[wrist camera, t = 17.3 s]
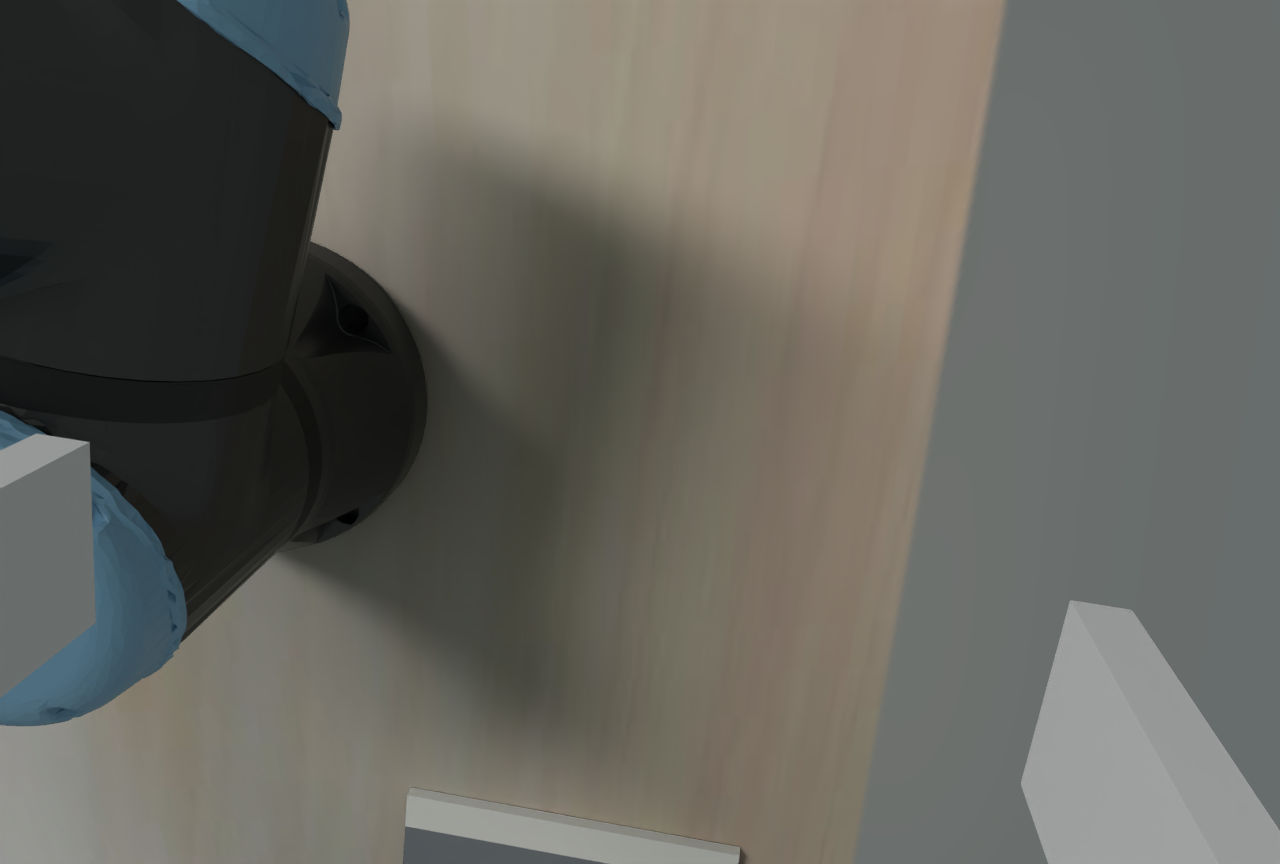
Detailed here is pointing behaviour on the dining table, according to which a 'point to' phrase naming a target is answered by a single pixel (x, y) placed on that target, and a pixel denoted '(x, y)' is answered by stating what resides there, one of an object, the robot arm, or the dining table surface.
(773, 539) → the dining table surface
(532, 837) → the mat
